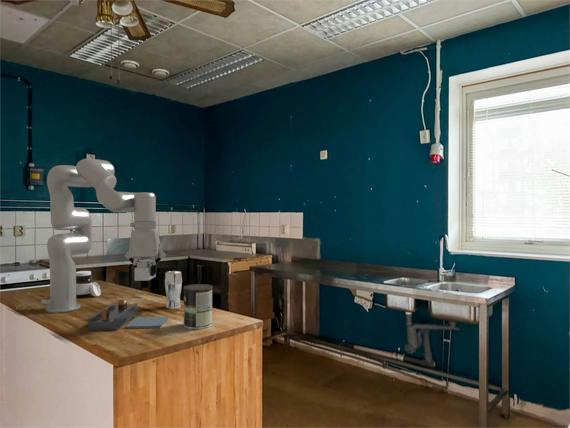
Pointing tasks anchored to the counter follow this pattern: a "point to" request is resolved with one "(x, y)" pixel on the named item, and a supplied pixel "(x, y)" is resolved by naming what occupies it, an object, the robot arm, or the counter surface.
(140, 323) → the mat
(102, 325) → the body
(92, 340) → the counter surface
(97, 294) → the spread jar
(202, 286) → the coffee can
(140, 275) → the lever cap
